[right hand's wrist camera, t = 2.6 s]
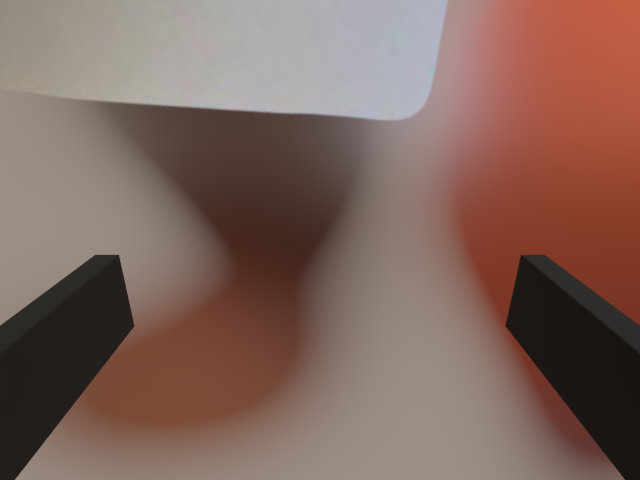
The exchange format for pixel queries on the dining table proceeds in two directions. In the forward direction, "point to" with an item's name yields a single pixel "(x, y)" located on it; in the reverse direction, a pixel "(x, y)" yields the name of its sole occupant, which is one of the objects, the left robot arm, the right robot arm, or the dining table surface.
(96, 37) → the dining table surface
